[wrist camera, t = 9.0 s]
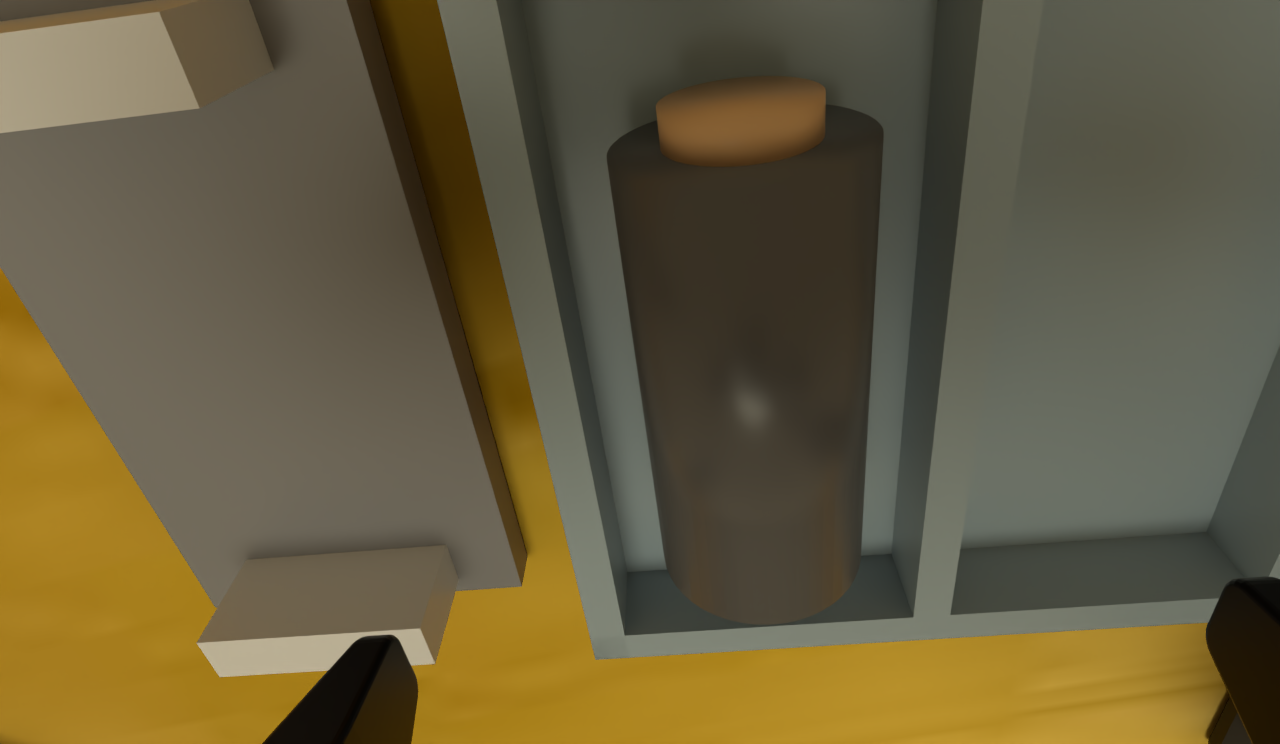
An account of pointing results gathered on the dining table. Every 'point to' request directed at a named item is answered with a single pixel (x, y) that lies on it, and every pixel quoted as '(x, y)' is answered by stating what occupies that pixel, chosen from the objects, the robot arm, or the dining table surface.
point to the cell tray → (935, 297)
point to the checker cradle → (256, 312)
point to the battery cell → (753, 335)
